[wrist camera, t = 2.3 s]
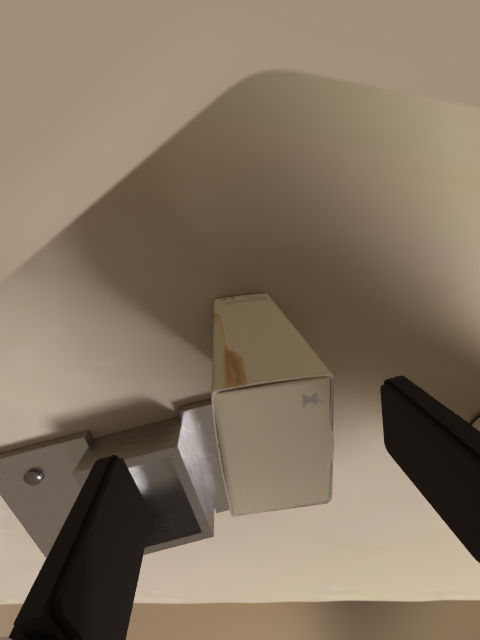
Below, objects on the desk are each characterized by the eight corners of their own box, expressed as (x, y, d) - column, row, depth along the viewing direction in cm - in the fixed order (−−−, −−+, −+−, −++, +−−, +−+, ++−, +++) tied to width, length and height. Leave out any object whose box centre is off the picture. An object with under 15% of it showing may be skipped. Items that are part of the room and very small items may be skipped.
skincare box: (212, 298, 20) (204, 382, 8) (268, 291, 20) (337, 365, 9) (222, 372, 22) (228, 525, 10) (273, 366, 22) (335, 508, 11)
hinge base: (281, 380, 23) (292, 405, 19) (303, 482, 26) (316, 517, 23) (-14, 457, 23) (-54, 495, 19) (50, 548, 26) (26, 593, 23)
